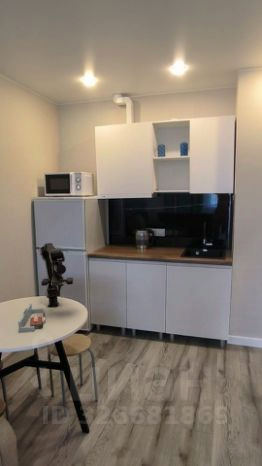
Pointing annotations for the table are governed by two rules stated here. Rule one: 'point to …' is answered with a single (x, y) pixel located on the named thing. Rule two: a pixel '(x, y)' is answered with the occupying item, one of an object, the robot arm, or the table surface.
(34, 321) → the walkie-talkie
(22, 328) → the mounting bracket
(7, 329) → the table surface
